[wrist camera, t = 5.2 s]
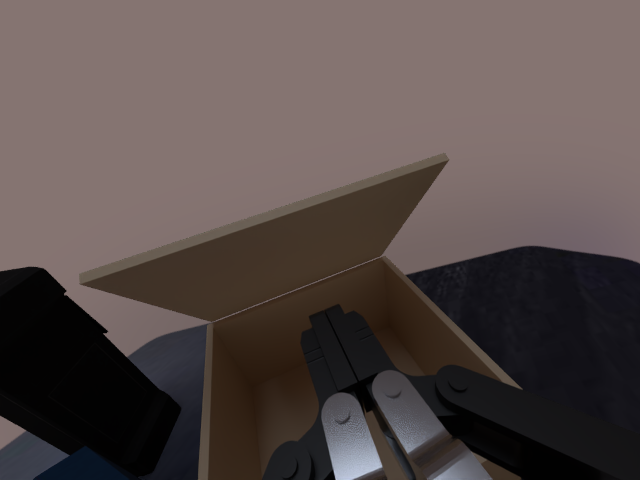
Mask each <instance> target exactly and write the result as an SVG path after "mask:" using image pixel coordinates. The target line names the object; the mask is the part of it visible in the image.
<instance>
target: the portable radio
mask: <svg viewBox="0 0 640 480" xmlns="http://www.w3.org/2000/svg"><path fill="white" fill-rule="evenodd" d="M65 292H66V290H65V289H64V288H63V287H62V286H61V285H60V284H59V283H58V282H57V281H56V280H55V279H54V278H53V277H52V276H51V275H50V274H49V273H48V272H47V271H46V270H45V269H43V268H38V267H25V268H19V269H12V270H7V271H0V416H2V417H4V418H6V419H7V420H9V421H11V422H13V423H14V424H16V425H18V426H20V427H22V428H23V429H25V430H27V431H28V432H30V433H32V434H34V435H35V436H37V437H39V438H41V439H42V440H44V441H46V442H47V443H49V444H51V445H53V446H54V447H56V448H58V449H60V450H61V451H63V452H65V453H67V454H68V455H72V454H73V453H75V452H76V451H78V450H80V449H81V448H83V447H84V446H87V447H88V448H90V449H92V450H93V451H95V452H97V453H98V454H100V455H101V456H103V457H105V458H106V459H108V460H110V461H111V462H113V463H115V464H116V465H118V466H120V467H121V468H123V469H125V470H126V471H128V472H130V473H131V474H133V475H135V476H141V475H144V474H146V473H148V472H151V471H152V470H153V469H154V468H155V466H156V463H157V461H158V459H159V457H160V454H161V452H162V450H163V448H164V446H165V443H166V441H167V439H168V437H169V435H170V432H171V430H172V428H173V426H174V424H175V421H176V419H177V417H178V415H179V413H180V406H179V405H178V404H177V403H176V402H175V401H174V400H173V399H172V398H171V397H170V396H169V395H168V394H166V393H165V392H163V391H161V390H159V389H158V388H157V387H156V386H155V385H154V384H153V383H152V382H151V381H150V380H149V379H148V378H147V377H146V376H145V375H144V374H143V373H142V372H141V371H140V370H139V369H138V368H137V367H136V366H135V365H134V364H133V363H132V362H131V361H130V360H129V359H128V358H127V357H126V356H125V355H124V354H123V353H122V352H121V351H120V350H119V349H118V348H117V347H116V346H115V345H114V344H113V343H112V342H111V341H110V340H109V339H108V338H107V337H106V336H105V335H104V334H103V333H107V332H108V331H107V330H106V329H105V328H104V327H103V326H101V325H100V324H99V323H98V322H97V321H96V320H94V319H93V318H92V317H91V316H90V315H89V314H87V313H86V312H85V311H84V310H83V309H82V308H81V307H79V306H78V305H77V304H76V303H75V302H74V301H72V300H71V299H70V298H69V297H68V296H67V295H65V296H64V293H65Z"/></svg>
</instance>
